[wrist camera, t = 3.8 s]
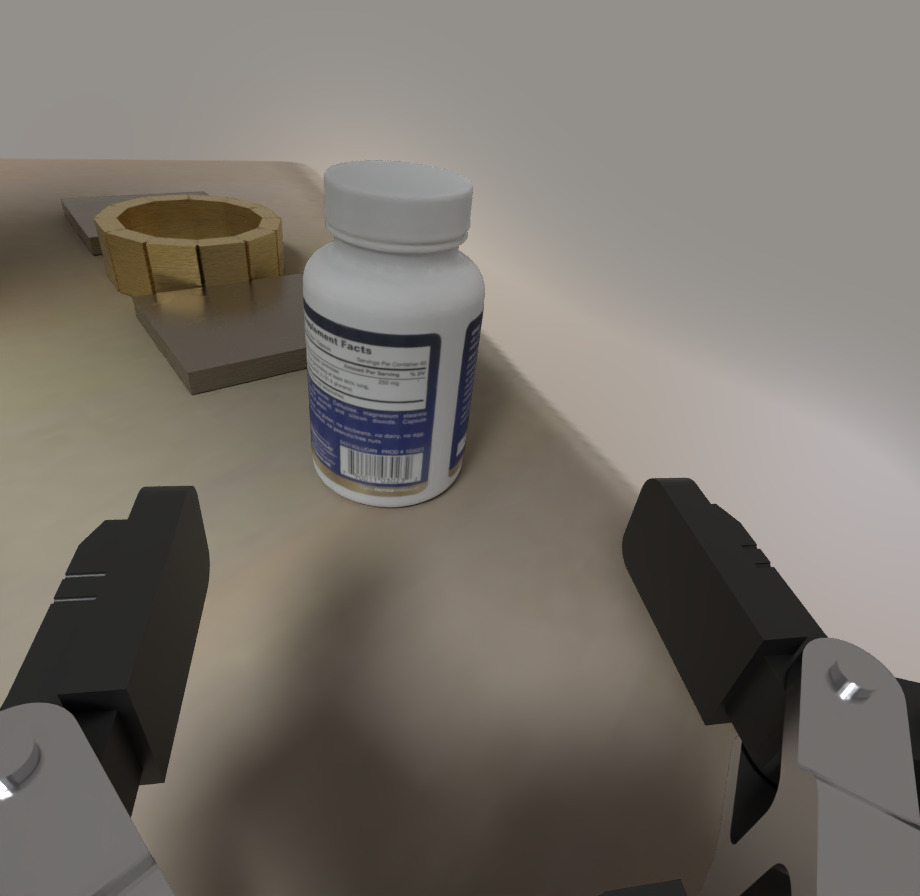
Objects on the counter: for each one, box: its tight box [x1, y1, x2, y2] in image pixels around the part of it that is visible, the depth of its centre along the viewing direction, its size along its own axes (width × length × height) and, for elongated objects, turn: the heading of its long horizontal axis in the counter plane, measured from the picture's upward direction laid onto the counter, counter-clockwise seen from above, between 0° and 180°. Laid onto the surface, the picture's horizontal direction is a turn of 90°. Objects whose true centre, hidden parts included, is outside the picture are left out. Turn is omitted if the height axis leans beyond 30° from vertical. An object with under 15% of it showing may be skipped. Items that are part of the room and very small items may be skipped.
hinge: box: [61, 192, 307, 395], centre depth 33 cm, size 9×25×3 cm, turn 37°
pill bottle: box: [303, 160, 485, 507], centre depth 19 cm, size 5×5×10 cm
